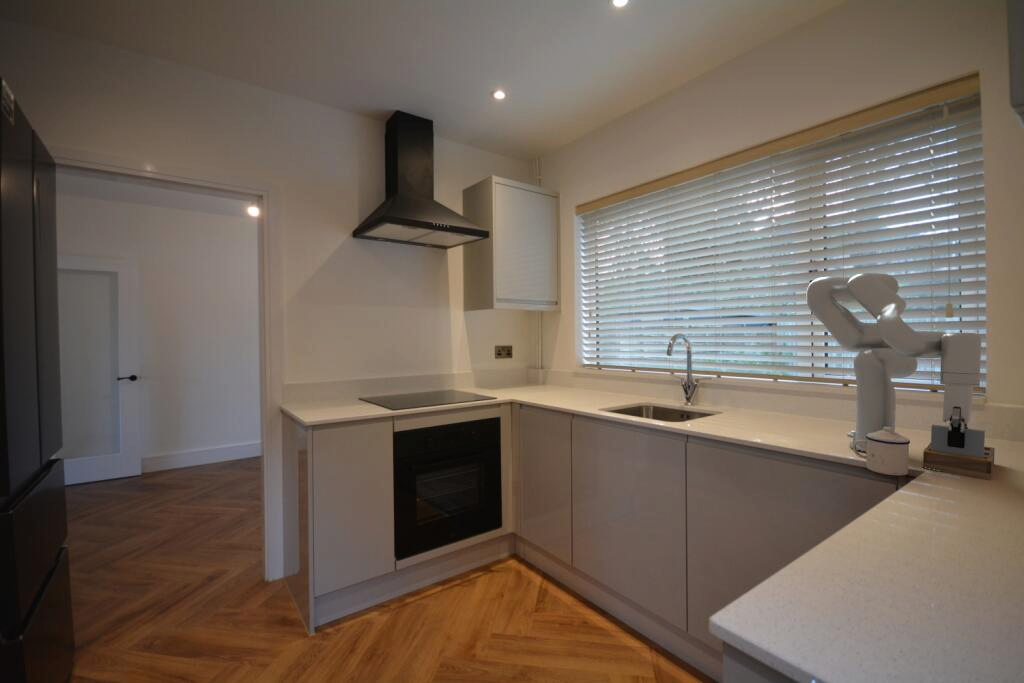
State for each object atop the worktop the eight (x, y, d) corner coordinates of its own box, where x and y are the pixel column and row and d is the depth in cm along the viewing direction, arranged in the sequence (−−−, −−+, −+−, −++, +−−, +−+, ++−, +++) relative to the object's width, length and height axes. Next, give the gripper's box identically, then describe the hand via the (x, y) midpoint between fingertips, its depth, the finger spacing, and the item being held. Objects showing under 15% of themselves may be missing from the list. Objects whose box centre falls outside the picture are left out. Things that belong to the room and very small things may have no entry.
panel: (982, 471, 118) (984, 432, 118) (930, 462, 126) (931, 425, 125) (983, 469, 120) (984, 430, 120) (931, 460, 127) (932, 424, 127)
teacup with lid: (910, 470, 123) (911, 427, 123) (907, 478, 117) (909, 432, 117) (855, 461, 132) (856, 420, 131) (849, 468, 125) (850, 425, 125)
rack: (990, 479, 116) (991, 460, 116) (923, 468, 125) (923, 450, 125) (994, 463, 130) (994, 446, 129) (932, 454, 139) (932, 438, 139)
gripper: (943, 375, 131) (942, 436, 131) (936, 380, 119) (934, 447, 120) (981, 378, 125) (979, 441, 126) (977, 383, 113) (975, 452, 114)
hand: (957, 444), depth 123 cm, fingers open, 9 cm apart
